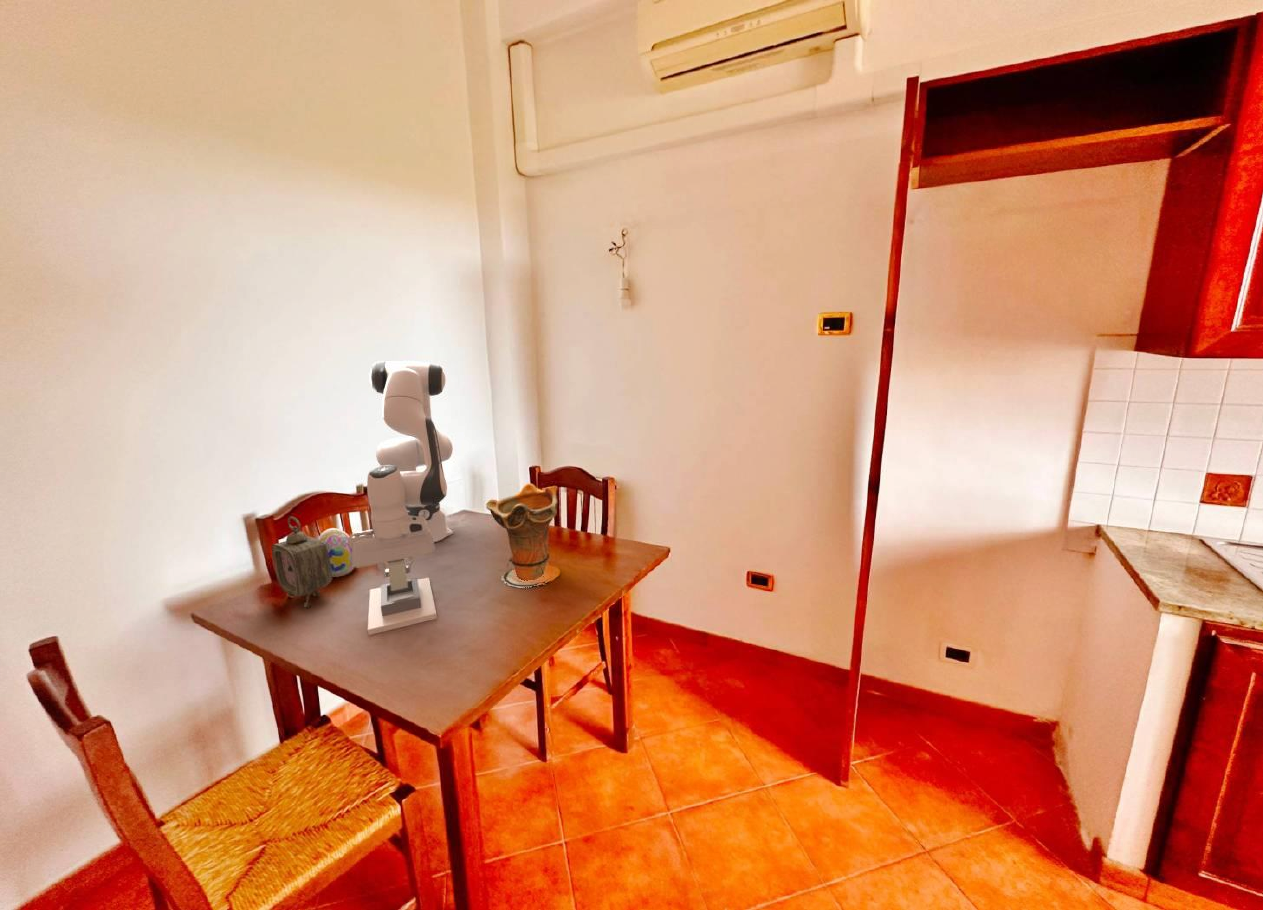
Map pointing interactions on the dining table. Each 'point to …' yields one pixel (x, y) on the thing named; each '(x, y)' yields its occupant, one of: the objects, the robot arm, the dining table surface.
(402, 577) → the key block
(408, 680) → the dining table surface
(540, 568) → the decorative vase
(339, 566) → the decorative egg
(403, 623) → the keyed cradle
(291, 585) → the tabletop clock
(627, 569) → the dining table surface
